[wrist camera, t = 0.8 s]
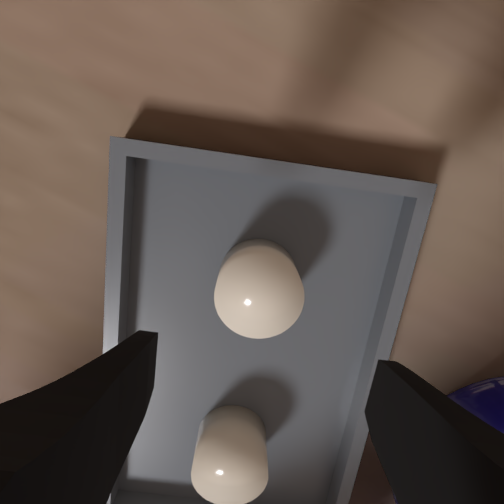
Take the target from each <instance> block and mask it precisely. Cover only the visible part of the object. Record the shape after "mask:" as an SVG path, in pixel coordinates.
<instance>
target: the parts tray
mask: <svg viewBox="0 0 504 504" xmlns="http://www.w3.org/2000/svg"><path fill="white" fill-rule="evenodd" d="M436 187H437V184H434V183H428V182H423V181H417V180H410V179H403V178H396V177H390V176H383V175H376V174H369V173H362V172H355V171H349V170H342V169H335V168H328V167H321V166H315V165H308V164H301V163H294V162H287V161H281V160H274V159H267V158H260V157H253V156H246V155H240V154H233V153H226V152H219V151H212V150H206V149H199V148H192V147H185V146H178V145H171V144H165V143H158V142H151V141H144V140H137V139H131V138H124V137H113V136H110V152H109V182H108V212H107V242H106V272H105V302H104V332H103V354H104V353H106V352H107V351H109V350H110V349H112V348H113V347H115V346H116V345H118V344H119V343H121V342H122V341H124V340H125V339H127V338H128V337H130V336H131V335H132V334H134V333H136V332H137V331H139V330H142V331H151V332H158V344H157V357H156V369H155V382H154V389H153V393H152V396H151V399H150V402H149V406H148V409H147V412H146V415H145V418H144V420H143V422H142V424H141V427H140V429H139V431H138V433H137V436H136V438H135V440H134V442H133V444H132V447H131V449H130V451H129V453H128V455H127V458H126V460H125V462H124V464H123V466H122V468H121V471H120V473H119V475H118V477H117V479H116V482H115V484H114V486H113V489H112V491H111V494H110V496H109V499H108V501H107V504H214V503H212V502H210V501H208V500H206V499H204V498H203V497H202V496H201V495H200V494H199V493H198V492H197V491H196V490H195V488H194V486H193V484H192V480H191V470H192V464H193V459H194V453H195V447H196V442H197V436H198V431H199V426H200V423H201V421H202V420H203V418H204V417H205V416H206V415H207V414H208V413H209V412H211V411H212V410H214V409H216V408H219V407H222V406H227V405H237V406H242V407H245V408H248V409H250V410H252V411H253V412H255V413H256V414H257V415H258V416H259V417H260V418H261V420H262V421H263V423H264V426H265V429H266V444H267V460H268V482H267V485H266V487H265V489H264V491H263V492H262V493H261V494H260V495H259V496H258V497H257V498H255V499H254V500H252V501H250V502H248V503H245V504H349V500H350V497H351V493H352V490H353V486H354V482H355V479H356V475H357V472H358V468H359V464H360V461H361V457H362V454H363V450H364V446H365V443H366V439H367V436H368V432H369V429H368V425H367V421H366V417H365V413H364V411H365V407H366V403H367V400H368V396H369V392H370V388H371V385H372V381H373V377H374V374H375V370H376V366H377V363H378V359H379V360H389V356H390V353H391V349H392V346H393V342H394V338H395V335H396V331H397V328H398V324H399V320H400V317H401V313H402V310H403V306H404V302H405V299H406V295H407V292H408V288H409V285H410V281H411V277H412V274H413V270H414V267H415V263H416V259H417V256H418V252H419V249H420V245H421V241H422V238H423V234H424V231H425V227H426V223H427V220H428V216H429V213H430V209H431V205H432V202H433V198H434V195H435V191H436ZM249 239H267V240H270V241H273V242H275V243H277V244H279V245H281V246H282V247H283V248H284V249H285V250H286V251H287V252H288V253H289V254H290V256H291V257H292V259H293V261H294V264H295V266H296V269H297V271H298V274H299V276H300V279H301V281H302V284H303V287H304V297H305V299H304V305H303V309H302V311H301V314H300V316H299V317H298V319H297V320H296V322H295V323H294V324H293V325H292V326H291V327H290V328H288V329H287V330H286V331H284V332H283V333H281V334H279V335H276V336H273V337H270V338H263V339H255V338H248V337H245V336H242V335H239V334H237V333H235V332H234V331H232V330H231V329H229V328H228V327H227V326H226V325H225V324H224V323H223V321H222V320H221V319H220V317H219V315H218V313H217V311H216V308H215V303H214V291H215V286H216V282H217V278H218V274H219V270H220V266H221V263H222V261H223V259H224V257H225V255H226V254H227V253H228V252H229V250H230V249H232V248H233V247H234V246H235V245H237V244H239V243H241V242H243V241H246V240H249Z"/></svg>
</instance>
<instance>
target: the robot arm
mask: <svg viewBox="0 0 504 504" xmlns="http://www.w3.org/2000/svg"><path fill="white" fill-rule="evenodd" d="M157 344H158V332H151V331H142V330H139V331H137V332H136V333H134V334H132V335H131V336H130V337H128V338H127V339H125V340H124V341H122V342H121V343H119V344H118V345H116V346H115V347H113V348H112V349H110V350H109V351H107V352H106V353H104V354H102V355H101V356H99V357H98V358H96V359H94V360H93V361H91V362H89V363H87V364H86V365H84V366H82V367H81V368H79V369H77V370H75V371H74V372H72V373H70V374H68V375H66V376H64V377H62V378H60V379H58V380H56V381H54V382H52V383H50V384H48V385H46V386H43V387H41V388H39V389H37V390H35V391H32V392H30V393H27V394H25V395H22V396H19V397H17V398H14V399H12V400H9V401H6V402H4V403H1V404H0V504H107V501H108V499H109V496H110V494H111V491H112V489H113V486H114V484H115V482H116V479H117V477H118V475H119V473H120V471H121V468H122V466H123V464H124V462H125V460H126V458H127V455H128V453H129V451H130V449H131V447H132V444H133V442H134V440H135V438H136V436H137V433H138V431H139V429H140V427H141V424H142V422H143V420H144V418H145V415H146V412H147V409H148V406H149V402H150V399H151V396H152V393H153V389H154V382H155V369H156V357H157ZM364 413H365V417H366V421H367V425H368V429H369V432H370V435H371V439H372V442H373V445H374V447H375V450H376V452H377V455H378V457H379V459H380V462H381V464H382V467H383V469H384V471H385V474H386V476H387V479H388V481H389V483H390V486H391V488H392V490H393V493H394V495H395V498H396V500H397V502H398V504H504V433H502V432H500V431H499V430H497V429H495V428H494V427H492V426H490V425H489V424H487V423H486V422H484V421H483V420H481V419H480V418H478V417H477V416H475V415H474V414H472V413H470V412H469V411H467V410H466V409H464V408H463V407H462V406H460V405H459V404H457V403H456V402H454V401H453V400H451V399H450V398H449V397H447V396H446V395H444V394H443V393H442V392H440V391H439V390H437V389H436V388H435V387H433V386H432V385H431V384H429V383H428V382H426V381H425V380H424V379H422V378H421V377H419V376H418V375H417V374H415V373H414V372H412V371H411V370H409V369H408V368H406V367H405V366H403V365H402V364H400V363H398V362H396V361H388V360H379V359H378V363H377V366H376V370H375V374H374V377H373V381H372V385H371V388H370V392H369V396H368V400H367V403H366V407H365V411H364Z"/></svg>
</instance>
